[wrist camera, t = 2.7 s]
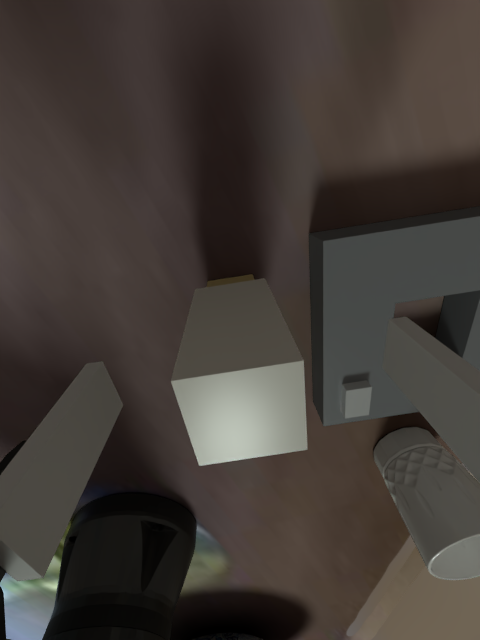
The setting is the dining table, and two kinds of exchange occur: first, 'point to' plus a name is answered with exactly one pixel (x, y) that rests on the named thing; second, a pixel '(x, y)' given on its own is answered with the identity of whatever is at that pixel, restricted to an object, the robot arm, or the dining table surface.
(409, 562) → the dining table surface
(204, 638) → the ceramic bowl
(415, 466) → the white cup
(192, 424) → the plug
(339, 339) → the socket plate
